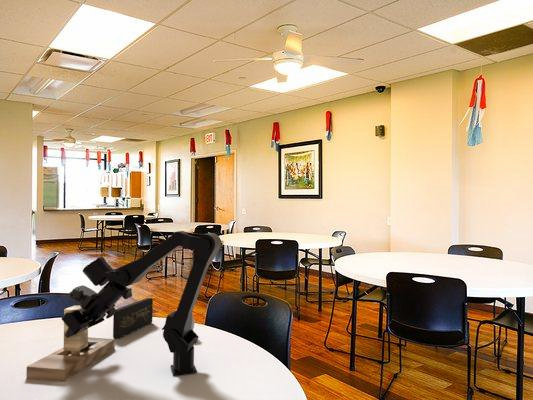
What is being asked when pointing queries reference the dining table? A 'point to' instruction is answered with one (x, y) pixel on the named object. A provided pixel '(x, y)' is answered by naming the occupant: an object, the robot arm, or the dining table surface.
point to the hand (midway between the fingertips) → (71, 333)
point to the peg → (75, 337)
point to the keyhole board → (69, 361)
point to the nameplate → (132, 317)
